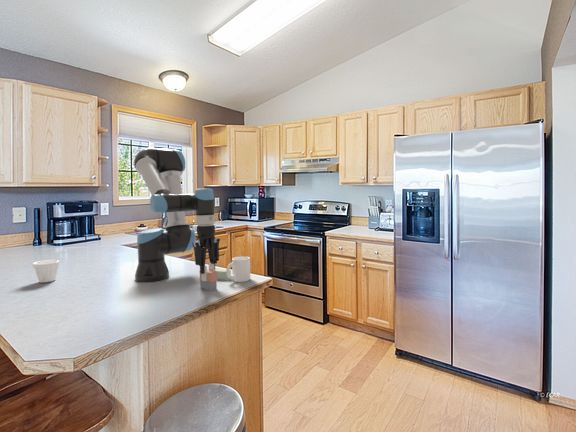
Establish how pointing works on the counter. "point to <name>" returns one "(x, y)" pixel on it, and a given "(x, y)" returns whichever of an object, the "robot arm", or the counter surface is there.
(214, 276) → the terracotta brick
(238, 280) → the mug
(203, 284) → the slate brick
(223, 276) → the sage brick
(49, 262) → the cup
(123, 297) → the counter surface
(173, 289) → the counter surface
